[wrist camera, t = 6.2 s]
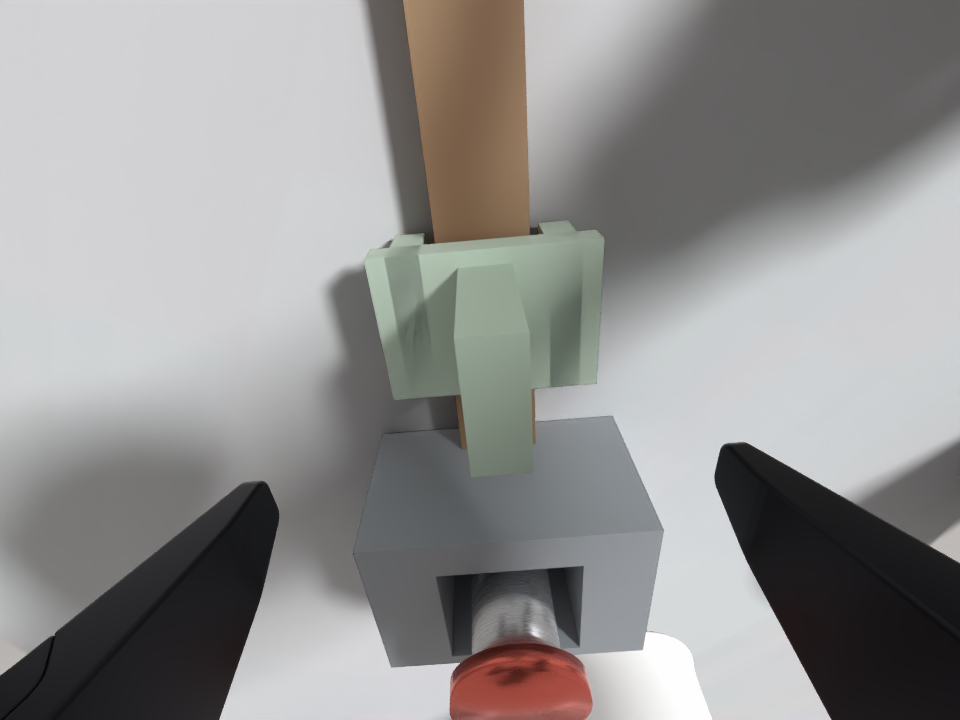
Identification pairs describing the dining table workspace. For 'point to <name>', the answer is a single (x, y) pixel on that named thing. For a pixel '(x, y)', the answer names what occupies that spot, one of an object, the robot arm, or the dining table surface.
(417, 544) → the housing
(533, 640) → the plunger
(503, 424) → the carriage
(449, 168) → the rail
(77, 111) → the dining table surface
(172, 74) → the dining table surface
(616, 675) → the mug
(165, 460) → the dining table surface
